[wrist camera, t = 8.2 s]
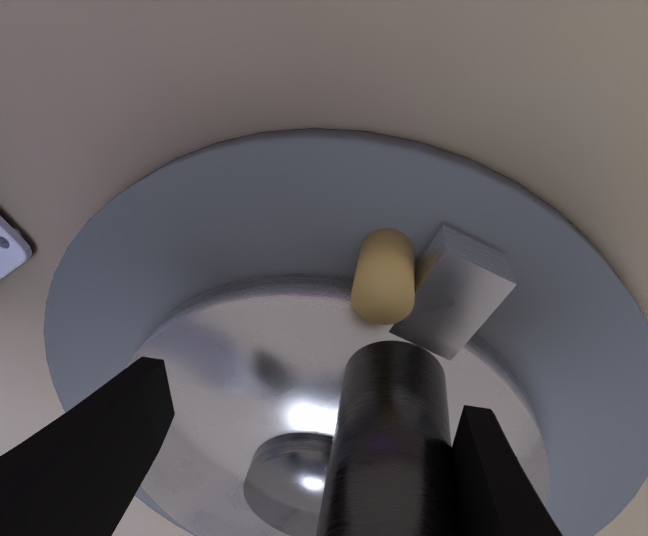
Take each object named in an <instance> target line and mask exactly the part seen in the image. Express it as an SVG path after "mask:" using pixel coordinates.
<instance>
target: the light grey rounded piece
mask: <svg viewBox="0 0 648 536" xmlns="http://www.w3.org/2000/svg"><path fill="white" fill-rule="evenodd" d="M353 283H354V280H351V279H345V278H339V277H333V276H321V275H303V274H290V275H274V276H262V277H257V278H251V279H246V280H241V281H235V282H232V283H229V284H226V285H223V286H220V287H217V288H214V289H211V290H208V291H206V292H204V293H202V294H200V295H198V296H196V297H194V298H192V299H190V300H188V301H186V302H185V303H184V304H182V305H181V306H180V307H178V308H177V309H175V310H174V311H173V312H171V313H170V314H168V315H167V317H166V318H165V319H164V320H163V321H162V322H161V323H160V324H159V325H158V326H157V327H156V328H155V329H154V330H153V331H152V333H151V334H150V335H149V337H148V338H147V339H146V340H145V342H144V343H143V344H142V346H141V347H140V348H139V349H138V351H137V352H136V353H135V355H134V356H133V357H132V359H131V360H130V362H129V363H128V365H127V366H126V368H127V367H128V366H129V365H131V364H132V363H133V362H135V361H136V360H138V359H139V358H140V357H142V356H143V357H149V358H156V359H163V360H164V363H165V368H166V372H167V377H168V382H169V387H170V392H171V397H172V402H173V407H174V412H175V415H174V418H173V420H172V423H171V425H170V428H169V430H168V433H167V435H166V437H165V440H164V442H163V444H162V446H161V449H160V451H159V453H158V455H157V457H156V458H155V460H154V462H153V464H152V466H151V467H150V469H149V471H148V473H147V474H146V476H145V478H144V480H143V482H142V483H141V486H142V488H143V489H144V490H145V492H146V493H147V494H148V495H149V496H150V497H151V498H152V499H153V500H154V501H155V502H156V503H157V504H158V506H159V507H160V508H162V509H163V510H164V511H165V512H166V513H167V514H169V515H170V516H171V517H172V518H173V519H174V520H175V521H177V522H178V523H180V524H181V525H182V526H184V527H185V528H186V529H188V530H189V531H190V532H192V533H193V534H195V535H197V536H460V535H459V524H458V513H457V502H456V490H455V479H454V468H453V457H452V445H453V441H454V438H455V434H456V431H457V427H458V424H459V420H460V417H461V414H462V410H463V407H464V405H468V406H475V407H482V408H488V409H491V410H492V411H493V412H494V414H495V416H496V418H497V420H498V422H499V424H500V426H501V428H502V430H503V432H504V434H505V436H506V438H507V440H508V442H509V444H510V446H511V448H512V450H513V452H514V453H515V455H516V457H517V459H518V461H519V463H520V465H521V466H522V468H523V470H524V472H525V474H526V475H527V477H528V479H529V481H530V482H531V484H532V486H533V487H534V489H535V491H536V493H537V494H538V496H539V498H540V499H541V501H542V503H543V504H544V506H545V505H546V502H547V499H548V492H549V484H550V473H549V463H548V457H547V453H546V450H545V447H544V443H543V440H542V436H541V433H540V430H539V426H538V423H537V420H536V417H535V413H534V410H533V407H532V404H531V401H530V399H529V397H528V395H527V393H526V391H525V389H524V388H523V386H522V384H521V382H520V380H519V378H518V377H517V376H516V375H515V373H514V372H513V371H512V369H511V368H510V367H509V366H508V364H507V363H506V362H505V360H504V359H503V358H502V357H501V356H500V355H499V354H498V353H497V352H496V351H495V350H494V349H493V348H492V347H491V346H490V345H489V344H487V343H486V342H485V341H484V340H483V339H482V338H481V337H480V336H478V335H477V334H476V333H475V332H476V331H477V330H478V329H479V328H480V327H481V325H482V324H483V323H484V322H485V321H486V320H487V319H488V317H489V316H490V315H491V314H492V313H493V312H494V310H495V309H496V308H497V307H498V306H499V305H500V303H501V302H502V301H503V300H504V299H505V298H506V297H507V295H508V294H509V293H510V292H511V291H512V290H513V288H514V287H515V286H516V285H517V284H516V281H515V278H514V276H513V273H512V270H511V268H510V265H509V262H508V259H507V257H506V255H504V254H502V253H500V252H498V251H496V250H494V249H492V248H490V247H488V246H486V245H484V244H482V243H480V242H478V241H476V240H474V239H472V238H470V237H468V236H466V235H464V234H462V233H459V232H457V231H455V230H453V229H451V228H449V227H447V226H445V225H442V226H441V228H440V229H439V231H438V232H437V234H436V235H435V237H434V238H433V240H432V241H431V243H430V244H429V246H428V247H427V249H426V250H425V251H424V253H423V254H422V256H421V257H420V259H419V260H418V262H417V263H416V265H415V266H414V294H415V302H414V307H413V309H412V311H411V313H410V314H409V315H408V316H407V317H406V318H405V319H403V320H402V321H400V322H398V323H394V324H390V325H379V324H374V323H371V322H368V321H366V320H365V319H363V318H362V317H360V316H359V315H358V314H357V313H356V311H355V310H354V308H353V306H352V303H351V292H352V287H353Z"/></svg>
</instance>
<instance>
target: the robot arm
mask: <svg viewBox="0 0 648 536" xmlns="http://www.w3.org/2000/svg"><path fill="white" fill-rule="evenodd" d="M6 239H7V240H6ZM31 256H32V250H31V247H30V246H29V245H28V243H27V242H26V241H25V240H24V239H23V238H22V237H21V236H20V235H19V234H18V233H17V232H16V231H15V230H14V229H13V228H12V227H11V226H10V225H9V224H8V223H7V222H6V221H5V220H4V219H3V218H2V217H1V216H0V279H1V278H3V277H4V276H6V275H7V274H9V273H10V272H11V271H13V270H14V269H16V268H17V267H18V266H20V265H21V264H23V263H24V262H25V261H27V260H28V259H30V258H31ZM174 415H175V412H174V407H173V402H172V397H171V392H170V387H169V382H168V377H167V372H166V368H165V363H164V360H163V359H156V358H149V357H143V356H142V357H140V358H139V359H138V360H136V361H135V362H133V363H132V364H131V365H129V366H128V367H127V368H125V369H124V370H123V371H121V372H120V373H119V374H117V375H116V376H115V377H113V378H112V379H111V380H109V381H108V382H107V383H105V384H104V385H103V386H101V387H100V388H99V389H97V390H96V391H95V392H93V393H92V394H91V395H89V396H88V397H87V398H85V399H84V400H83V401H81V402H80V403H78V404H77V405H76V406H74V407H73V408H72V409H70V410H69V411H67V412H66V413H65V414H63V415H62V416H60V417H59V418H58V419H56V420H55V421H53V422H52V423H50V424H49V425H47V426H46V427H44V428H43V429H41V430H40V431H38V432H37V433H35V434H34V435H32V436H31V437H29V438H28V439H27V440H25V441H24V442H22V443H21V444H19V445H18V446H16V447H14V448H13V449H11V450H10V451H8V452H7V453H5V454H3V455H2V456H0V536H112V534H113V532H114V530H115V529H116V527H117V525H118V523H119V522H120V520H121V518H122V516H123V515H124V513H125V511H126V509H127V508H128V506H129V504H130V502H131V501H132V499H133V497H134V495H135V494H136V492H137V490H138V489H139V487H140V485H141V483H142V482H143V480H144V478H145V476H146V474H147V473H148V471H149V469H150V467H151V466H152V464H153V462H154V460H155V458H156V457H157V455H158V453H159V451H160V449H161V446H162V444H163V442H164V440H165V437H166V435H167V433H168V430H169V428H170V425H171V423H172V420H173V418H174ZM452 457H453V468H454V479H455V490H456V502H457V513H458V524H459V535H460V536H563V535H562V533H561V532H560V530H559V529H558V527H557V526H556V524H555V522H554V521H553V519H552V518H551V516H550V514H549V513H548V511H547V509H546V508H545V506H544V504H543V503H542V501H541V499H540V498H539V496H538V494H537V493H536V491H535V489H534V487H533V486H532V484H531V482H530V481H529V479H528V477H527V475H526V474H525V472H524V470H523V468H522V466H521V465H520V463H519V461H518V459H517V457H516V455H515V453H514V452H513V450H512V448H511V446H510V444H509V442H508V440H507V438H506V436H505V434H504V432H503V430H502V428H501V426H500V424H499V422H498V420H497V418H496V416H495V414H494V412H493V411H492V410H491V409H488V408H482V407H475V406H468V405H464V407H463V410H462V414H461V417H460V420H459V424H458V427H457V431H456V434H455V438H454V441H453V445H452Z"/></svg>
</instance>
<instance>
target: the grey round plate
mask: <svg viewBox="0 0 648 536" xmlns="http://www.w3.org/2000/svg"><path fill="white" fill-rule="evenodd" d="M442 225H445V226H447V227H449V228H451V229H453V230H455V231H457V232H459V233H462V234H464V235H466V236H468V237H470V238H472V239H474V240H476V241H478V242H480V243H482V244H484V245H486V246H488V247H490V248H492V249H494V250H496V251H498V252H500V253H502V254H504V255H506V257H507V259H508V262H509V265H510V268H511V270H512V273H513V276H514V278H515V281H516V284H517V285H516V286H515V287H514V288H513V290H512V291H511V292H510V293H509V294H508V295H507V297H506V298H505V299H504V300H503V301H502V302H501V303H500V305H499V306H498V307H497V308H496V309H495V310H494V312H493V313H492V314H491V315H490V316H489V317H488V319H487V320H486V321H485V322H484V323H483V324H482V325H481V327H480V328H479V329H478V330H477V331H476V332H475V333H476V334H477V335H478V336H480V337H481V338H482V339H483V340H484V341H485V342H486V343H487V344H489V345H490V346H491V347H492V348H493V349H494V350H495V351H496V352H497V353H498V354H499V355H500V356H501V357H502V358H503V359H504V360H505V362H506V363H507V364H508V366H509V367H510V368H511V369H512V371H513V372H514V373H515V375H516V376H517V377H518V378H519V380H520V382H521V384H522V386H523V388H524V389H525V391H526V393H527V395H528V397H529V399H530V401H531V404H532V407H533V410H534V413H535V417H536V420H537V423H538V426H539V430H540V433H541V436H542V440H543V443H544V447H545V450H546V453H547V457H548V463H549V473H550V484H549V492H548V499H547V502H546V505H545V508H546V509H547V511H548V513H549V514H550V516H551V518H552V519H553V521H554V522H555V524H556V526H557V527H558V529H559V530H560V532H561V533H562V535H563V536H594V535H595V534H596V533H598V532H599V531H600V530H601V529H603V528H604V527H605V526H606V525H608V524H609V523H610V522H611V521H612V520H614V519H615V518H616V516H617V515H618V514H619V513H620V512H621V511H622V510H623V509H624V508H625V507H626V506H627V504H628V503H629V502H630V501H631V500H632V499H633V498H634V497H635V495H636V493H637V492H638V490H639V489H640V487H641V486H642V484H643V483H644V481H645V479H646V478H647V476H648V325H647V323H646V321H645V319H644V317H643V315H642V313H641V311H640V309H639V307H638V305H637V303H636V302H635V300H634V299H633V298H632V296H631V295H630V293H629V292H628V291H627V289H626V288H625V287H624V285H623V284H622V283H621V281H620V280H619V279H618V277H617V276H616V275H615V273H614V272H613V271H612V269H611V268H610V267H609V265H608V264H607V263H606V261H605V260H604V259H603V257H602V256H601V255H600V253H599V252H598V251H597V249H596V248H595V247H594V246H593V244H592V243H591V242H590V241H589V240H588V239H587V238H586V237H585V236H584V235H583V234H582V233H581V232H580V231H579V230H578V229H577V228H575V227H574V226H573V225H572V224H571V223H570V222H569V221H568V220H567V219H566V218H565V217H564V216H563V215H562V214H561V213H560V212H558V211H557V210H556V209H555V208H553V207H552V206H550V205H549V204H547V203H546V202H545V201H543V200H542V199H540V198H539V197H537V196H536V195H534V194H533V193H531V192H530V191H529V190H527V189H526V188H524V187H523V186H521V185H520V184H518V183H517V182H515V181H513V180H511V179H509V178H507V177H505V176H503V175H501V174H499V173H497V172H495V171H493V170H491V169H489V168H487V167H485V166H483V165H481V164H479V163H477V162H475V161H473V160H471V159H469V158H466V157H463V156H460V155H457V154H454V153H451V152H448V151H445V150H442V149H439V148H436V147H433V146H430V145H427V144H424V143H421V142H418V141H413V140H408V139H402V138H397V137H392V136H387V135H382V134H377V133H371V132H366V131H351V130H333V129H316V128H311V129H298V130H286V131H273V132H262V133H258V134H253V135H249V136H244V137H240V138H235V139H231V140H226V141H222V142H217V143H215V144H212V145H210V146H207V147H205V148H202V149H199V150H197V151H194V152H192V153H189V154H187V155H184V156H181V157H179V158H177V159H175V160H173V161H171V162H170V163H168V164H166V165H165V166H163V167H161V168H160V169H158V170H156V171H154V172H153V173H151V174H149V175H148V176H146V177H144V178H143V179H141V180H140V181H138V182H137V183H135V184H134V185H132V186H131V187H129V188H128V189H126V190H125V191H123V192H122V193H120V194H119V195H118V196H116V197H115V198H114V199H113V200H112V201H111V202H109V203H108V204H107V205H106V206H105V207H104V208H102V209H101V210H100V211H99V212H98V213H97V214H95V215H94V216H93V217H92V218H91V219H90V220H89V221H88V222H87V224H86V225H85V226H84V227H83V229H82V230H81V231H80V232H79V234H78V235H77V236H76V237H75V239H74V240H73V241H72V242H71V244H70V245H69V246H68V248H67V250H66V252H65V254H64V256H63V258H62V260H61V262H60V264H59V266H58V268H57V270H56V272H55V273H54V277H53V280H52V284H51V287H50V291H49V294H48V298H47V301H46V311H45V323H44V337H45V348H46V358H47V362H48V366H49V370H50V374H51V378H52V381H53V385H54V387H55V390H56V392H57V394H58V397H59V399H60V402H61V404H62V406H63V409H64V411H65V412H67V411H69V410H70V409H72V408H73V407H74V406H76V405H77V404H78V403H80V402H81V401H83V400H84V399H85V398H87V397H88V396H89V395H91V394H92V393H93V392H95V391H96V390H97V389H99V388H100V387H101V386H103V385H104V384H105V383H107V382H108V381H109V380H111V379H112V378H113V377H115V376H116V375H117V374H119V373H120V372H121V371H123V370H124V369H125V368H126V366H127V365H128V363H129V362H130V360H131V359H132V357H133V356H134V355H135V353H136V352H137V351H138V349H139V348H140V347H141V346H142V344H143V343H144V342H145V340H146V339H147V338H148V337H149V335H150V334H151V333H152V331H153V330H154V329H155V328H156V327H157V326H158V325H159V324H160V323H161V322H162V321H163V320H164V319H165V318H166V317H167V315H168V314H170V313H171V312H173V311H174V310H175V309H177V308H178V307H180V306H181V305H182V304H184V303H185V302H186V301H188V300H190V299H192V298H194V297H196V296H198V295H200V294H202V293H204V292H206V291H208V290H211V289H214V288H217V287H220V286H223V285H226V284H229V283H232V282H235V281H241V280H246V279H251V278H257V277H262V276H274V275H290V274H303V275H321V276H333V277H339V278H345V279H351V280H354V283H353V287H352V292H351V303H352V306H353V308H354V310H355V311H356V313H357V314H358V315H359V316H360V317H362V318H363V319H365V320H366V321H368V322H371V323H374V324H379V325H390V324H394V323H398V322H400V321H402V320H403V319H405V318H406V317H407V316H408V315H409V314H410V313H411V311H412V309H413V307H414V302H415V294H414V266H415V265H416V263H417V262H418V260H419V259H420V257H421V256H422V254H423V253H424V251H425V250H426V249H427V247H428V246H429V244H430V243H431V241H432V240H433V238H434V237H435V235H436V234H437V232H438V231H439V229H440V228H441V226H442ZM135 496H136V497H137V498H139V499H140V500H141V501H142V502H144V503H145V504H146V505H147V506H149V507H150V508H151V509H153V510H154V511H155V512H157V513H158V514H160V515H161V516H163V517H164V518H166V519H167V520H169V521H171V522H172V523H174V524H175V525H177V526H178V527H180V528H182V529H184V530H185V531H187V532H189V533H191V534H192V535H194V536H197V535H195V534H193V533H192V532H190V531H189V530H188V529H186V528H185V527H184V526H182V525H181V524H180V523H178V522H177V521H175V520H174V519H173V518H172V517H171V516H170V515H169V514H167V513H166V512H165V511H164V510H163V509H162V508H160V507H159V506H158V504H157V503H156V502H155V501H154V500H153V499H152V498H151V497H150V496H149V495H148V494H147V493H146V492H145V490H144V489H143V488H142V486H141V485H140V487H139V489H138V490H137V492H136V494H135Z"/></svg>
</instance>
